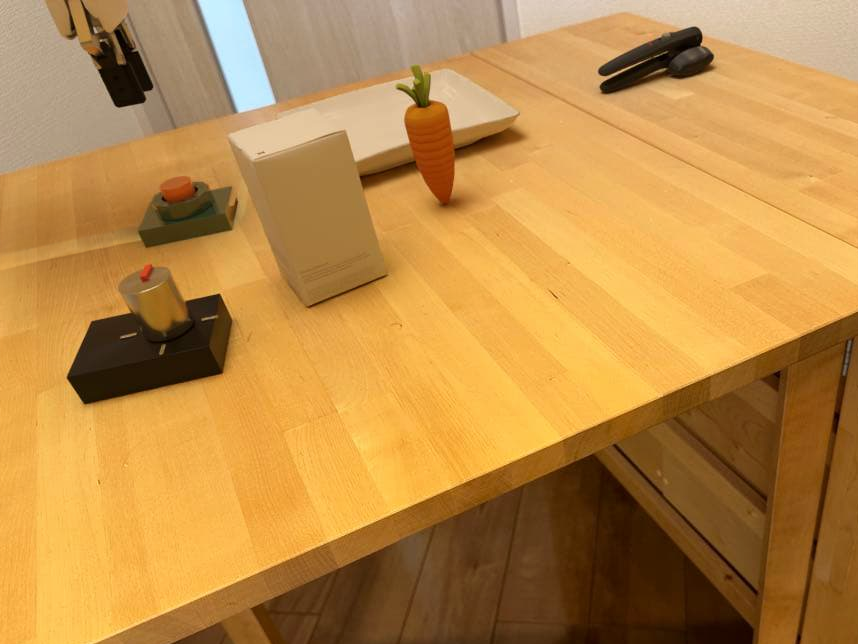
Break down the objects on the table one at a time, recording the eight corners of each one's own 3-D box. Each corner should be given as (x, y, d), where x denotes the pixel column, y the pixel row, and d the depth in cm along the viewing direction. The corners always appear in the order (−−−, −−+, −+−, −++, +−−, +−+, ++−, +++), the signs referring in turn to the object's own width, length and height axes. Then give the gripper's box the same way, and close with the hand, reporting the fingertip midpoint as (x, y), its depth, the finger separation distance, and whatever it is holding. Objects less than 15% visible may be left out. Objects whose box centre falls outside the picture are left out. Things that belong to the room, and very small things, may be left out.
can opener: (692, 58, 116) (692, 18, 112) (718, 69, 111) (719, 27, 107) (587, 87, 111) (584, 47, 108) (610, 100, 106) (607, 58, 103)
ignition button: (163, 206, 88) (156, 192, 87) (168, 193, 91) (161, 179, 90) (194, 199, 89) (188, 185, 87) (198, 187, 91) (192, 173, 90)
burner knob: (189, 336, 67) (163, 284, 63) (139, 346, 67) (109, 294, 63) (198, 309, 70) (173, 259, 67) (150, 319, 70) (122, 269, 67)
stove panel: (83, 404, 66) (64, 376, 64) (106, 346, 73) (90, 319, 71) (225, 372, 67) (211, 343, 65) (235, 318, 74) (222, 290, 72)
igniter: (146, 248, 89) (129, 217, 86) (157, 218, 95) (143, 188, 92) (232, 230, 90) (218, 198, 87) (238, 202, 96) (225, 171, 93)
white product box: (391, 275, 77) (348, 128, 67) (307, 309, 74) (249, 160, 64) (358, 243, 83) (315, 104, 73) (279, 273, 80) (223, 133, 70)
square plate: (527, 139, 100) (523, 109, 97) (325, 201, 92) (315, 171, 90) (453, 88, 119) (448, 62, 116) (281, 136, 112) (272, 110, 109)
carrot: (455, 215, 85) (426, 76, 76) (417, 212, 87) (383, 77, 77) (473, 194, 89) (447, 59, 79) (436, 193, 90) (405, 60, 81)
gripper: (29, -105, 77) (117, 82, 88) (-31, -84, 64) (81, 131, 76) (104, -118, 77) (182, 70, 89) (61, -100, 65) (157, 116, 76)
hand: (135, 96), depth 82 cm, fingers open, 3 cm apart
